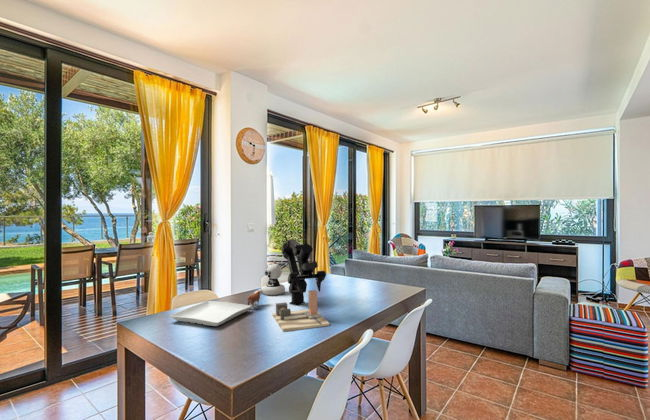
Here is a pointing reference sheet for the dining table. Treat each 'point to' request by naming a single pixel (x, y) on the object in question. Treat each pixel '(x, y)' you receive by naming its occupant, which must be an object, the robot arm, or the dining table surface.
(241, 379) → the dining table surface
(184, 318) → the square plate
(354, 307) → the dining table surface
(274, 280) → the decorative figurine
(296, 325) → the press base
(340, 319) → the dining table surface
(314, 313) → the slider
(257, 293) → the bull figurine
